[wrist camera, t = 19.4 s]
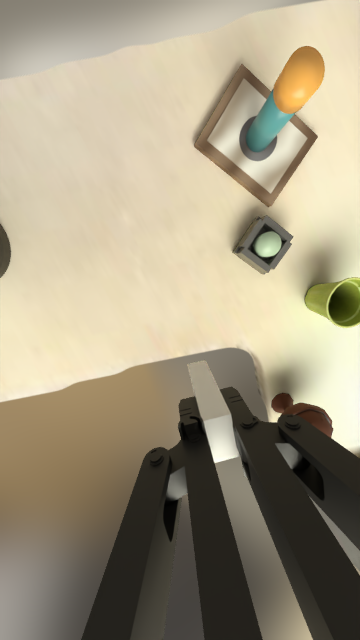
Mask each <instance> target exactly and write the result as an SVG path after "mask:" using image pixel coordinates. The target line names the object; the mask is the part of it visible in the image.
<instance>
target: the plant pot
mask: <svg viewBox="0 0 360 640" xmlns="http://www.w3.org/2000/svg"><path fill="white" fill-rule="evenodd" d="M305 303H306V306H307V307H308V308H309V309H310V310H312V311H314V312H316V313H318V314H320V315H322V316H324V317H326V318H328V319H329V320H330V321H331V322H332V323H333V324H334V325H336V326H338V327H342V328H350V327H354V326H356V325H358V324H360V278H358V277H352V278H347V279H345V280H343V281H340V282H335V283H326V284H317V285H314V286H313V287H311V288H310V289H309V290H308V293H307V295H306V297H305Z"/></svg>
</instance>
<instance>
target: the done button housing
mask: <svg viewBox="0 0 360 640" xmlns="http://www.w3.org/2000/svg"><path fill="white" fill-rule="evenodd" d="M266 232H275V233H277V234H278V235H279V236H280V238H281V248H280V250H279V251H278V253H277V254H275V255H273V256H269V257H258V256H256V255H255V254H254V253H253V251H252V243H253V241H254V239H255V238H256V237H257V236H259V235H261V234H264V233H266ZM292 238H293V236H292V235H291V234H289V233H288V232H287V231H286V230H285V229H283V228H282V227H281V226H280V225H278V224H277V223H276V222H275V221H273V220H272V219H271V218H270V217H268V216H267V215H266V216H264V217H262V218H260V217H259V216H258V217H256V218H255V220H254V221H253V223H252V224H251V226H250V227H249V229H248V230H247V232H246V233H245V235H244V236H243V238H242V239H241V241H240V242H239V244H238V245H237V247H236V248H235V250H234V251H233V253H234V254H235V255H237V256H238V257H239V258H241V259H242V260H243V261H245V262H246V263H247V264H249V265H250V266H252V267H253V268H254V269H256V270H257V271H258V272H260V273H261V274H265V273H268V272H269V271H270V269H275V267H276V266H277V264H278V263H279V262H280V260H281V259H282V257H283V256H284V255H285V253H286V252H287V250H288V249H289V248H290V246H291V245H292V244H291V243H290V241H291V240H292Z"/></svg>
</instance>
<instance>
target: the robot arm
mask: <svg viewBox="0 0 360 640" xmlns="http://www.w3.org/2000/svg"><path fill="white" fill-rule="evenodd" d="M10 257H11V250H10V244H9V240H8V237H7V235H6V233H5V231H4V229H3V228H2V226H1V225H0V278H1V277H2V276H3V274H4V273H5V272H6V270H7V268H8V266H9V262H10ZM188 370H189V374H190V378H191V382H192V387H193V390H194V395H195V396H194V397H190V398H186V399H182V400H181V401H180V403H179V413H180V422H179V424H178V429H179V432H180V436H181V440H180V442H179V443H178V444H177V445H176V446H175V447H173V448H172V449H170V450H167V449H165V448H162V447H158V448H154V449H152V450H151V451H149V452H148V453H147V454H146V456H145V458H144V460H143V463H142V465H141V468H140V471H139V474H138V477H137V480H136V483H135V486H134V489H133V491H132V494H131V497H130V500H129V503H128V506H127V509H126V512H125V514H124V517H123V520H122V523H121V526H120V529H119V532H118V535H117V538H116V541H115V543H114V547H113V549H112V552H111V555H110V558H109V561H108V564H107V567H106V569H105V572H104V575H103V578H102V581H101V584H100V587H99V590H98V593H97V595H96V598H95V601H94V604H93V607H92V611H91V613H90V616H89V619H88V622H87V625H86V627H85V630H84V633H83V636H82V639H81V640H163V638H164V630H165V623H166V615H167V607H168V599H169V592H170V584H171V577H172V569H173V561H174V554H175V546H176V538H177V531H178V523H179V515H180V508H181V499H182V498H181V497H182V496H183V495H185V494H186V493H188V500H189V509H190V517H191V526H192V534H193V543H194V551H195V560H196V569H197V578H198V585H199V594H200V603H201V611H202V621H203V629H204V638H205V640H263V639H262V636H261V632H260V628H259V625H258V621H257V618H256V614H255V610H254V607H253V603H252V599H251V595H250V592H249V588H248V584H247V581H246V577H245V574H244V570H243V566H242V562H241V559H240V555H239V552H238V548H237V544H236V540H235V537H234V533H233V529H232V526H231V522H230V518H229V515H228V511H227V508H226V504H225V500H224V497H223V493H222V490H221V485H220V482H219V478H218V474H217V471H216V467H215V463H216V462H220V461H224V460H228V459H232V458H235V457H239V454H240V456H241V460H242V465H243V471H244V476H245V477H247V478H248V480H249V483H250V485H251V488H252V490H253V492H254V495H255V498H256V500H257V502H258V505H259V507H260V510H261V512H262V515H263V517H264V520H265V522H266V525H267V527H268V530H269V532H270V535H271V537H272V539H273V542H274V544H275V547H276V549H277V552H278V554H279V557H280V559H281V561H282V564H283V567H284V569H285V572H286V574H287V576H288V579H289V581H290V584H291V586H292V589H293V591H294V594H295V596H296V599H297V601H298V603H299V606H300V608H301V611H302V613H303V616H304V618H305V620H306V623H307V626H308V628H309V631H310V633H311V635H312V638H313V640H360V575H359V574H358V572H357V571H356V569H355V567H354V566H353V564H352V563H351V561H350V559H349V558H348V556H347V555H346V553H345V552H344V550H343V549H342V547H341V546H340V544H339V542H338V541H337V539H336V538H335V536H334V535H333V533H332V532H331V530H330V528H329V527H328V525H327V524H326V522H325V521H324V519H323V518H322V516H321V514H320V513H319V511H318V510H317V508H316V507H315V505H314V504H313V502H312V500H313V501H314V502H315V503H316V504H317V505H318V506H319V507H320V508H321V509H322V510H323V511H324V512H325V514H326V515H327V516H328V517H329V518H330V519H331V520H332V521H333V522H334V523H335V524H336V525H337V527H338V528H339V529H340V530H341V531H342V532H343V533H344V534H345V535H346V536H347V537H348V538H349V539H350V541H351V542H352V543H353V544H354V545H355V546H356V547H357V548H358V549H359V550H360V458H358V457H357V456H355V455H354V454H353V453H351V452H350V451H348V450H347V449H346V448H344V447H343V446H341V445H340V444H338V443H337V442H336V441H334V440H333V439H331V438H330V437H329V436H327V435H326V434H324V433H323V432H322V431H320V430H319V429H317V428H316V427H315V426H313V425H312V424H310V423H309V422H308V421H306V420H305V419H303V418H302V417H300V416H298V415H294V414H285V415H282V416H280V417H279V418H278V421H277V423H272V422H263V421H260V420H259V419H258V418H257V417H256V416H253V415H252V413H251V412H250V410H249V408H248V407H247V405H246V404H245V402H244V400H243V399H242V397H241V396H240V394H239V392H238V391H237V390H236V389H234V388H233V387H228V388H224V389H221V390H219V388H218V386H217V384H216V382H215V379H214V378H213V375H212V373H211V371H210V369H209V367H208V365H207V363H206V360H203V361H199V362H195V363H191V364H188ZM238 452H239V453H238ZM308 495H309V496H310V497H311V498H312V500H311V499H310V497H309V496H308Z"/></svg>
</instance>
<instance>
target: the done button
mask: <svg viewBox="0 0 360 640" xmlns="http://www.w3.org/2000/svg"><path fill="white" fill-rule="evenodd" d="M280 248H281V238H280V236H279V235H278V234H277V233H275V232H266V233H264V234H261V235H259V236H257V237H256V238H255V239H254V241H253V243H252V251H253V253H254V254H255V255H256V256H258V257H269V256H273V255H275V254H277V253H278V251H279V250H280Z"/></svg>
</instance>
